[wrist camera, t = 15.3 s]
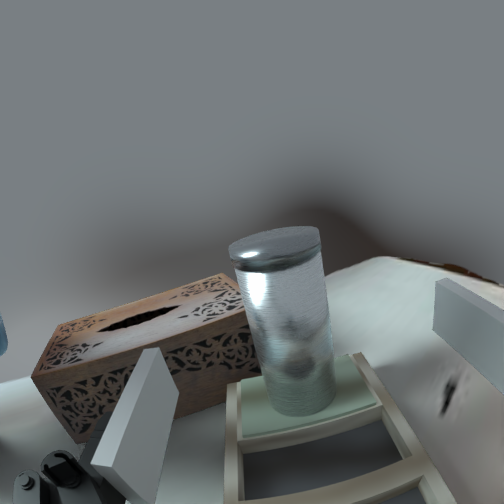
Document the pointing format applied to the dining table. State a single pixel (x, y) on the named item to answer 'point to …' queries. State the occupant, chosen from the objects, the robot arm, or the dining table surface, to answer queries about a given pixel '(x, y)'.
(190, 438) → the dining table surface
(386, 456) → the board
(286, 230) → the canister
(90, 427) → the tissue box cover
